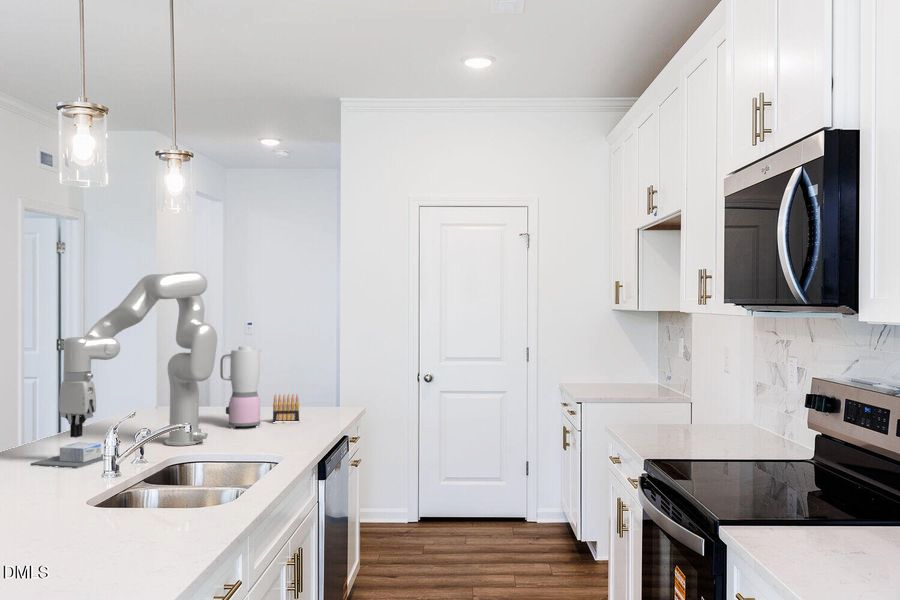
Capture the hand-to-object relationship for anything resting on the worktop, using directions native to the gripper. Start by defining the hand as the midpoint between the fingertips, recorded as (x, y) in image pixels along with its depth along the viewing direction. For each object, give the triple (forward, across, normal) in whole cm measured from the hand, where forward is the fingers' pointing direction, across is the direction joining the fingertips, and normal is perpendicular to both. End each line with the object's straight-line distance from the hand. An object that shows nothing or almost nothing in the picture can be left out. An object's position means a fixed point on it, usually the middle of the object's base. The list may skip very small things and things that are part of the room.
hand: (76, 436), depth 215 cm
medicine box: (+5, +3, 0) cm, 6 cm away
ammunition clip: (+8, -31, -82) cm, 88 cm away
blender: (+8, -18, -68) cm, 71 cm away
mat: (+8, +1, 0) cm, 8 cm away
